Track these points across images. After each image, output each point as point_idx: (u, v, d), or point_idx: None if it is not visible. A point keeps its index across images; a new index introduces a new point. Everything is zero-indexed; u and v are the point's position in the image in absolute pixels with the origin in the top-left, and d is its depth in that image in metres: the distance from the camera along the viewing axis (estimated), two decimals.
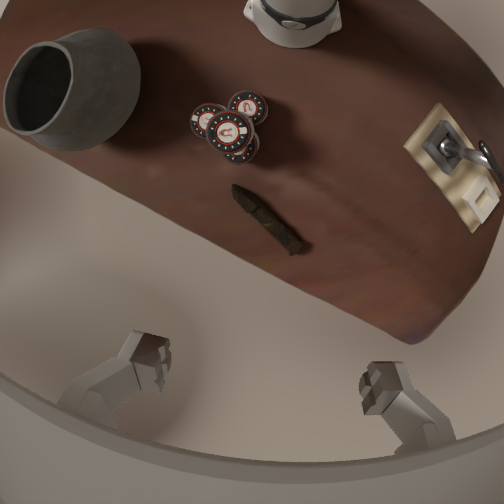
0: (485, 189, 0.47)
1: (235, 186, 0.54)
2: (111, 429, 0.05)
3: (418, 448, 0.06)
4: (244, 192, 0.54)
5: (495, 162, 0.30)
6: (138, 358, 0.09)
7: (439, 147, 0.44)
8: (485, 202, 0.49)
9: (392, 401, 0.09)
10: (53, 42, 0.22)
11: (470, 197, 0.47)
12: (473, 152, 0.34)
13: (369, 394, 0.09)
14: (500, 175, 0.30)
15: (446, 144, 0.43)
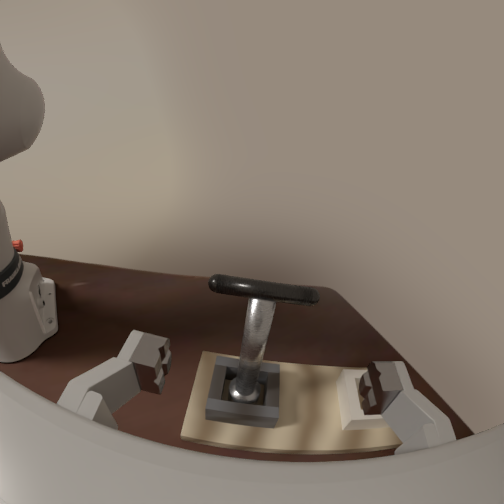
0: None
1: None
2: (111, 429, 0.05)
3: (418, 448, 0.06)
4: None
5: (262, 282, 0.23)
6: (138, 358, 0.09)
7: (233, 398, 0.30)
8: None
9: (392, 401, 0.09)
10: None
11: (349, 412, 0.28)
12: None
13: (369, 394, 0.09)
14: (294, 290, 0.23)
15: (235, 384, 0.31)
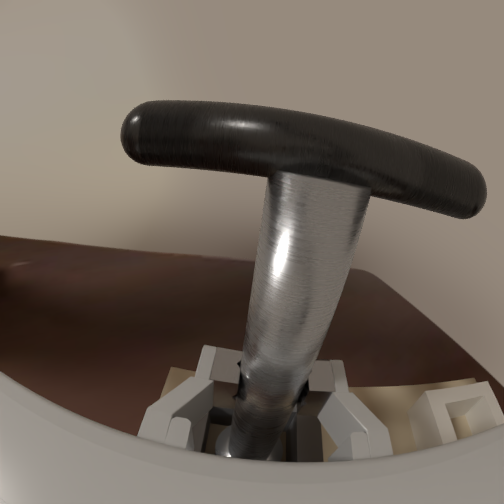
0: (450, 412, 0.16)
1: None
2: (111, 429, 0.05)
3: (345, 458, 0.06)
4: None
5: None
6: (219, 375, 0.09)
7: None
8: (475, 425, 0.14)
9: (325, 403, 0.09)
10: None
11: None
12: None
13: (301, 393, 0.09)
14: (428, 150, 0.05)
15: (228, 443, 0.12)
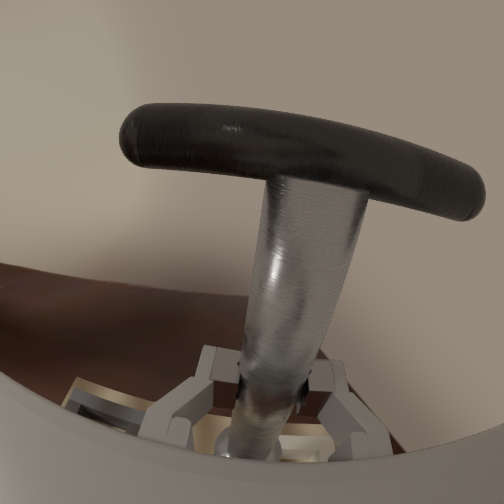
0: None
1: None
2: (111, 429, 0.05)
3: (345, 458, 0.06)
4: None
5: (316, 118, 0.06)
6: (219, 375, 0.09)
7: None
8: None
9: (325, 403, 0.09)
10: None
11: None
12: None
13: (301, 393, 0.09)
14: (427, 153, 0.05)
15: (227, 443, 0.12)
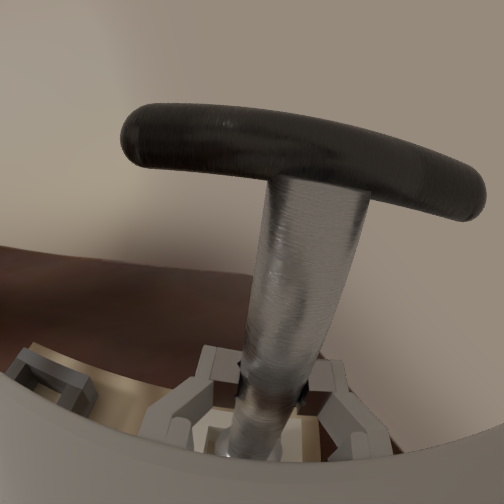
0: None
1: None
2: (111, 429, 0.05)
3: (345, 458, 0.06)
4: None
5: None
6: (219, 375, 0.09)
7: None
8: None
9: (325, 403, 0.09)
10: None
11: None
12: None
13: (301, 393, 0.09)
14: (428, 154, 0.05)
15: (228, 443, 0.12)
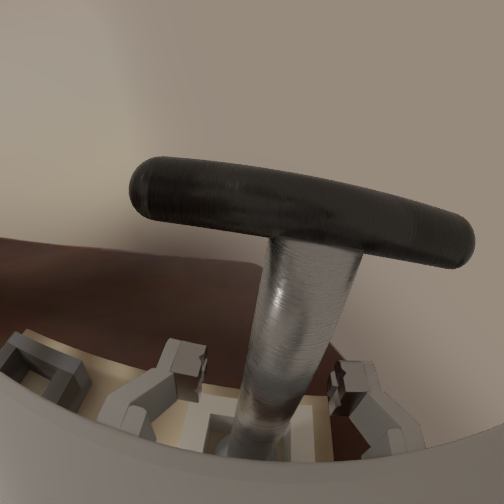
0: None
1: None
2: (111, 429, 0.05)
3: (382, 454, 0.06)
4: None
5: (318, 178, 0.06)
6: (179, 367, 0.09)
7: None
8: (283, 457, 0.15)
9: (359, 403, 0.09)
10: None
11: None
12: None
13: (335, 394, 0.09)
14: (422, 211, 0.06)
15: (227, 451, 0.13)
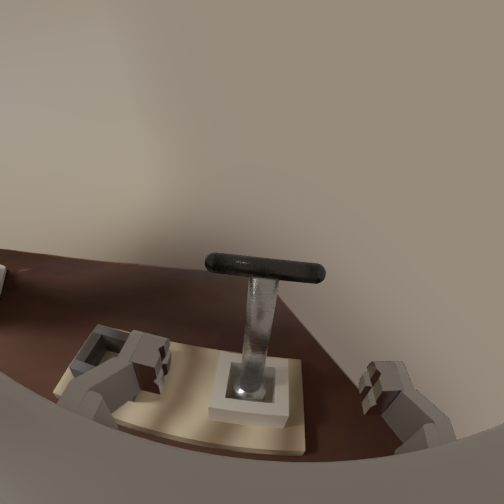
0: None
1: None
2: (111, 429, 0.05)
3: (418, 448, 0.06)
4: None
5: (262, 258, 0.22)
6: (138, 357, 0.09)
7: (237, 396, 0.28)
8: (272, 390, 0.30)
9: (392, 401, 0.09)
10: None
11: (210, 399, 0.26)
12: None
13: (369, 394, 0.09)
14: (297, 266, 0.21)
15: None
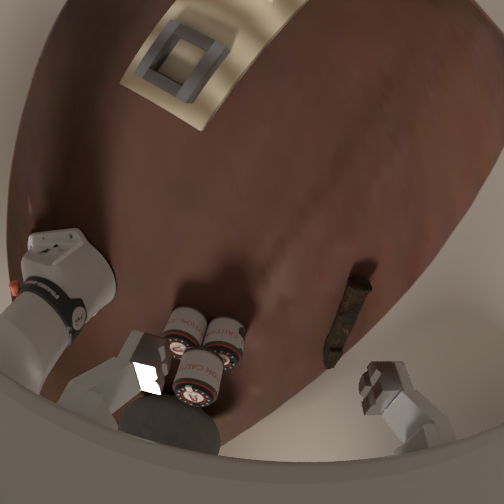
0: None
1: None
2: (111, 429, 0.05)
3: (418, 448, 0.06)
4: (324, 358, 0.47)
5: None
6: (138, 357, 0.09)
7: None
8: None
9: (392, 401, 0.09)
10: None
11: None
12: None
13: (369, 394, 0.09)
14: None
15: None
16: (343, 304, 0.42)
